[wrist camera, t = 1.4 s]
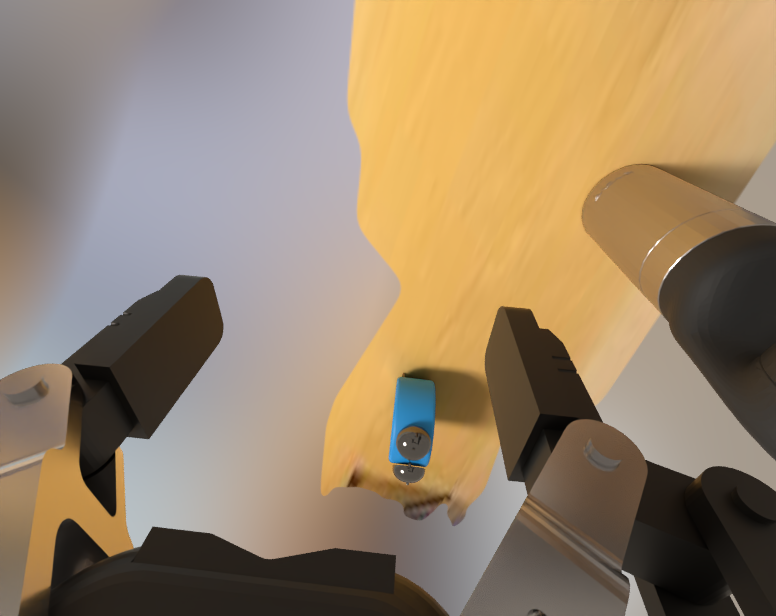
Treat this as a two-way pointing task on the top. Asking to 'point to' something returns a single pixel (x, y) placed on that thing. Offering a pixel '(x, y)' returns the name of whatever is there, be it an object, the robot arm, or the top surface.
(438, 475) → the top surface
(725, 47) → the top surface
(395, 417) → the alarm clock
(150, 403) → the robot arm
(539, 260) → the top surface
